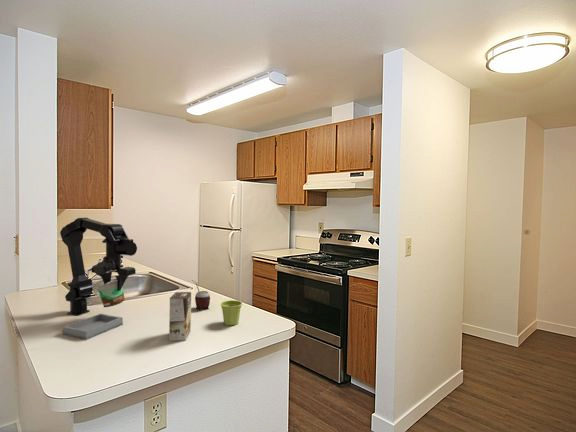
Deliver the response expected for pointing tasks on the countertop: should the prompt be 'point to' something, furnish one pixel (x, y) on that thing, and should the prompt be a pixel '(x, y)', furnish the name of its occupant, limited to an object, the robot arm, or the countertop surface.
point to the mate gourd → (202, 299)
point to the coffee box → (180, 316)
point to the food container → (110, 294)
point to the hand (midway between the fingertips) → (113, 289)
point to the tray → (92, 326)
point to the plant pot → (231, 311)
